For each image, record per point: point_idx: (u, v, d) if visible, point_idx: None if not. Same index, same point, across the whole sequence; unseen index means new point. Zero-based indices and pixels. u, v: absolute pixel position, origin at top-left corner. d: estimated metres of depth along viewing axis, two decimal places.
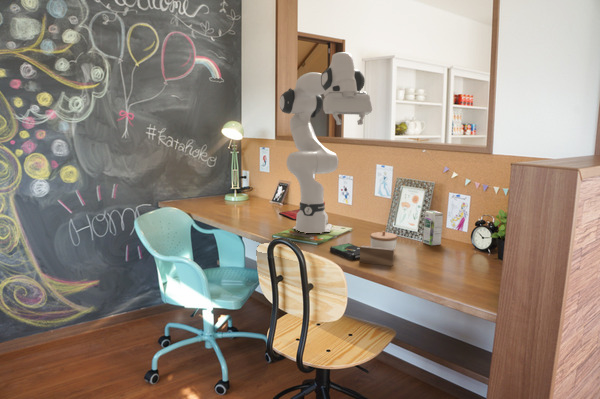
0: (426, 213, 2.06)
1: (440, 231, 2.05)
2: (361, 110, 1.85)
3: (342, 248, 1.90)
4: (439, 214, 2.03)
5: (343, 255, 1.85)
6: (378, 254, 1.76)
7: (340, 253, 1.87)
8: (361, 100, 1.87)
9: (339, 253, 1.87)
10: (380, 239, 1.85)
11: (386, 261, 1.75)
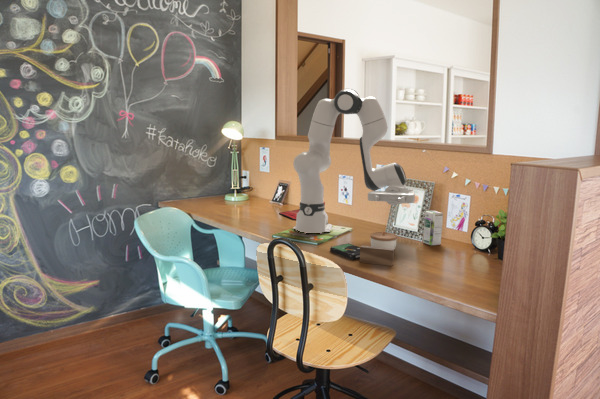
0: (426, 213, 2.06)
1: (440, 231, 2.05)
2: None
3: (342, 248, 1.90)
4: (439, 214, 2.03)
5: (343, 255, 1.85)
6: (378, 254, 1.76)
7: (340, 253, 1.87)
8: None
9: (339, 253, 1.87)
10: (380, 239, 1.85)
11: (386, 261, 1.75)
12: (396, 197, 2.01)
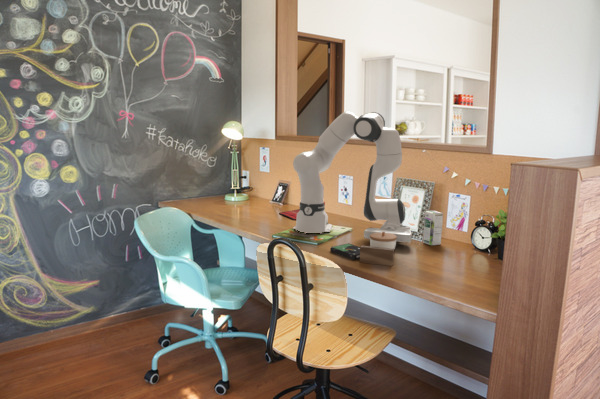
0: (426, 213, 2.06)
1: (440, 231, 2.05)
2: None
3: (342, 248, 1.90)
4: (439, 214, 2.03)
5: (344, 255, 1.85)
6: (378, 254, 1.76)
7: (341, 253, 1.87)
8: None
9: (340, 253, 1.87)
10: (379, 240, 1.84)
11: (386, 261, 1.75)
12: None
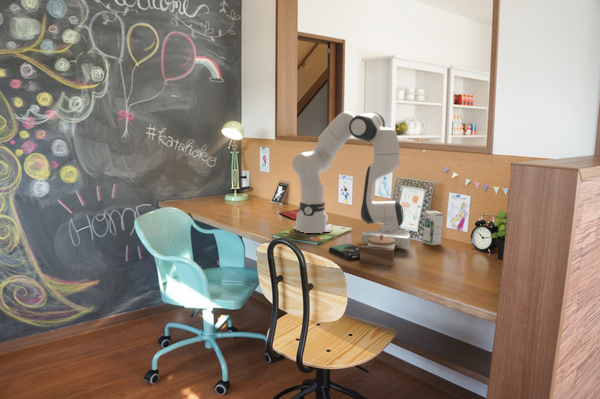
0: (426, 213, 2.06)
1: (440, 231, 2.05)
2: None
3: (340, 248, 1.90)
4: (439, 214, 2.03)
5: (340, 255, 1.85)
6: (378, 254, 1.76)
7: (338, 253, 1.87)
8: None
9: (337, 253, 1.87)
10: (377, 243, 1.78)
11: (386, 261, 1.75)
12: None
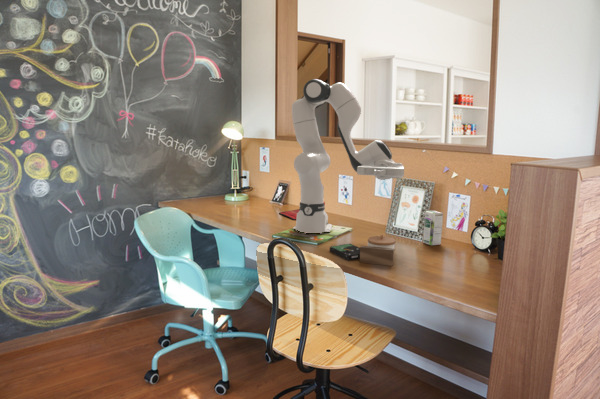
0: (426, 213, 2.06)
1: (440, 231, 2.05)
2: None
3: (341, 248, 1.90)
4: (439, 214, 2.03)
5: (340, 255, 1.85)
6: (378, 254, 1.76)
7: (338, 253, 1.87)
8: None
9: (337, 253, 1.87)
10: (377, 243, 1.78)
11: (386, 261, 1.75)
12: None
